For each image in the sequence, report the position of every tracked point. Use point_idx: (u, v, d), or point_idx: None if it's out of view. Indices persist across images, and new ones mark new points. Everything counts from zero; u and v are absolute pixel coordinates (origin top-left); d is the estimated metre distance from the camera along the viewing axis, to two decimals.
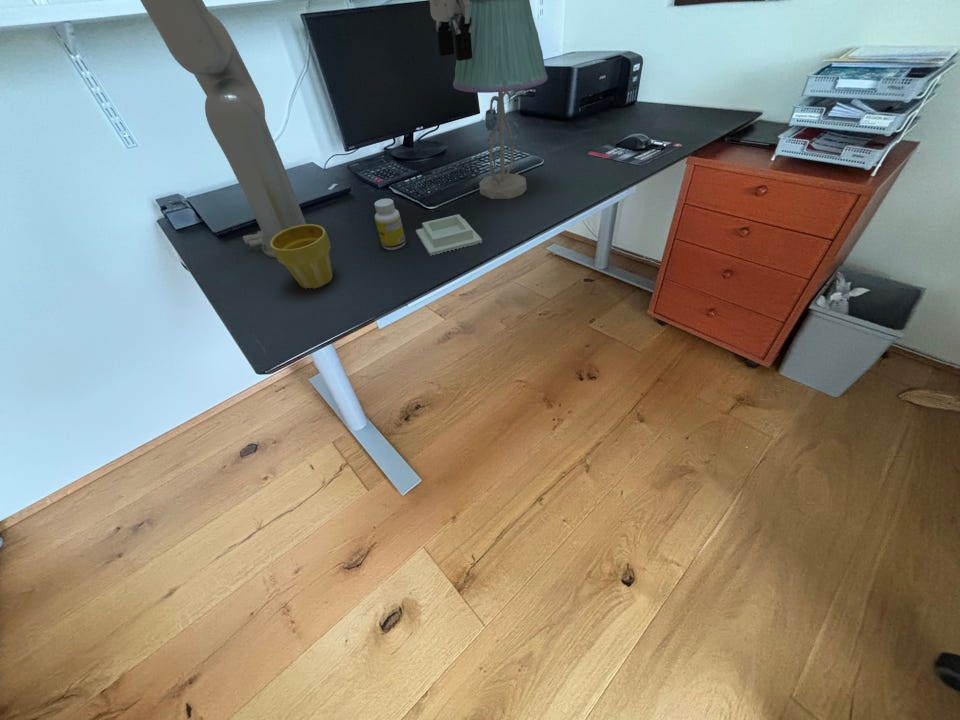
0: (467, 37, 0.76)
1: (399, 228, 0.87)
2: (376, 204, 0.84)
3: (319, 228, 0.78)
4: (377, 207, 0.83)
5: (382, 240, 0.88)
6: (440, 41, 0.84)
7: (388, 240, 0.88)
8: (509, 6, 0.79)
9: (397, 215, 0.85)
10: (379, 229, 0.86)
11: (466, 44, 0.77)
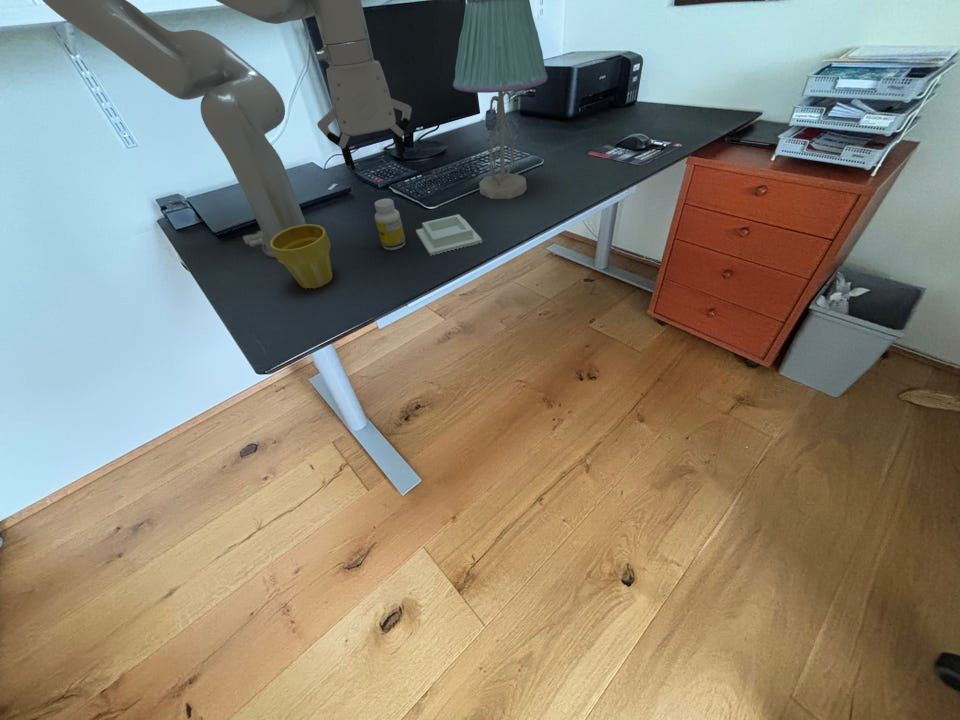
0: None
1: (399, 228, 0.87)
2: (376, 204, 0.84)
3: (319, 228, 0.78)
4: (377, 207, 0.83)
5: (382, 240, 0.88)
6: (351, 156, 0.75)
7: (388, 240, 0.88)
8: (509, 6, 0.79)
9: (397, 215, 0.85)
10: (379, 229, 0.86)
11: None
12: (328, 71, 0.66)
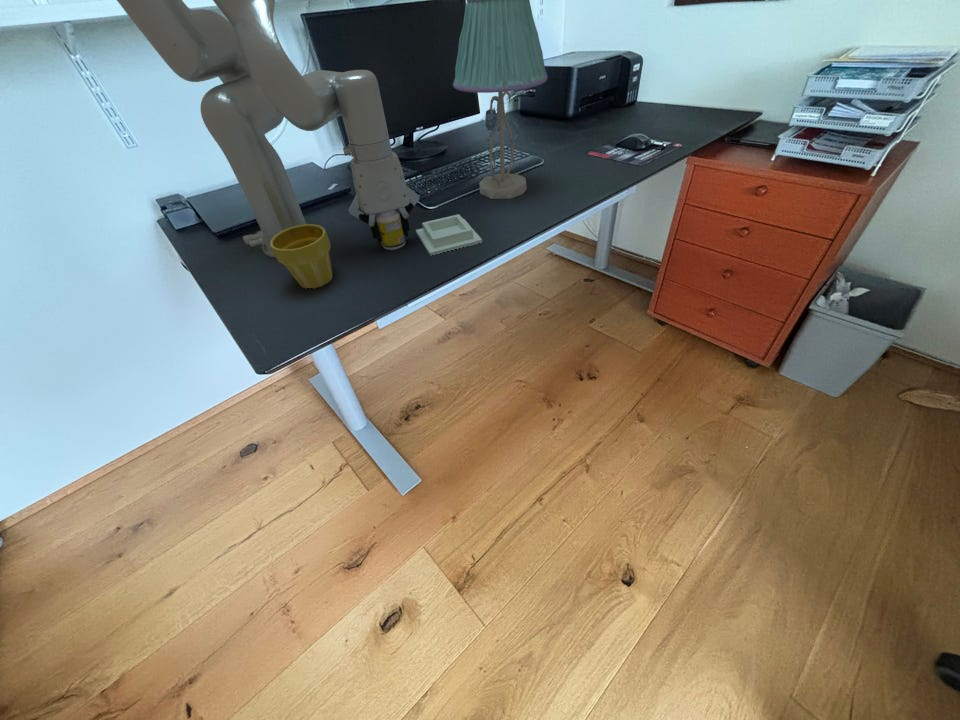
0: None
1: (399, 228, 0.87)
2: None
3: (319, 228, 0.78)
4: None
5: (382, 240, 0.88)
6: (378, 232, 0.87)
7: (388, 240, 0.88)
8: (509, 6, 0.79)
9: (397, 215, 0.85)
10: (379, 229, 0.86)
11: (407, 222, 0.89)
12: (353, 164, 0.76)
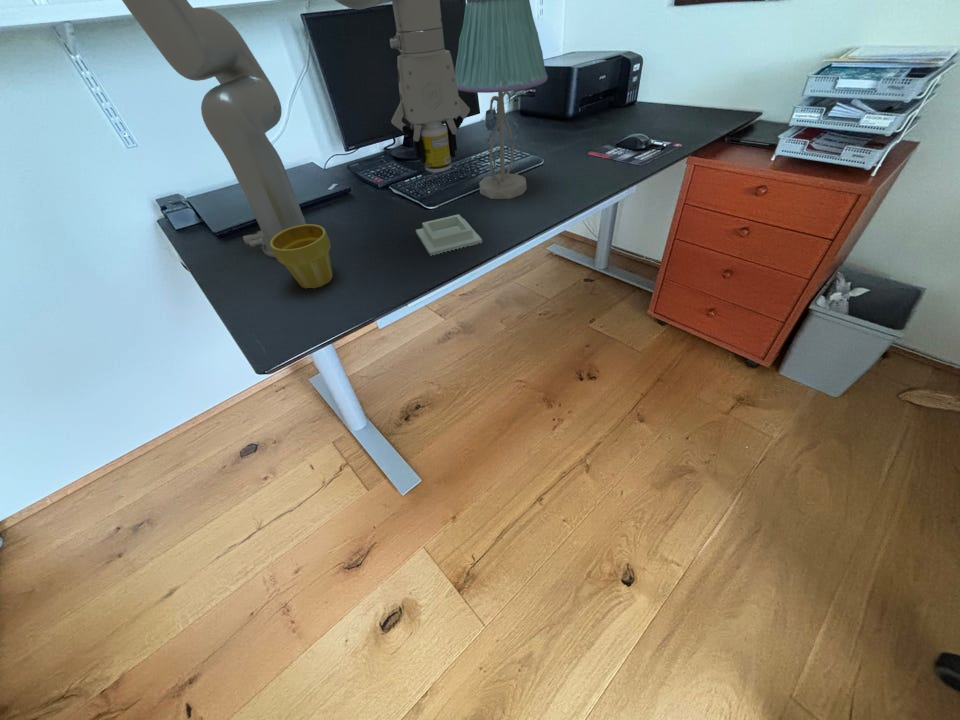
0: None
1: (447, 145, 0.77)
2: None
3: (319, 228, 0.78)
4: None
5: (426, 160, 0.78)
6: (423, 149, 0.77)
7: (433, 159, 0.78)
8: (509, 6, 0.79)
9: (445, 129, 0.75)
10: (424, 145, 0.76)
11: None
12: (401, 59, 0.66)
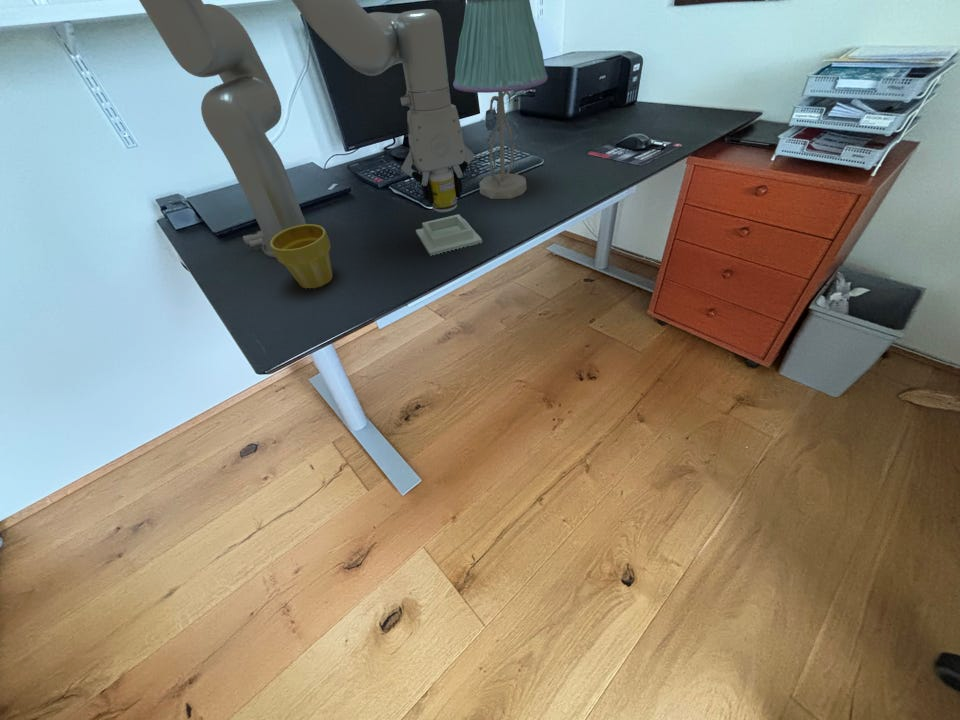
0: None
1: (453, 188, 0.83)
2: None
3: (319, 228, 0.78)
4: None
5: (434, 201, 0.84)
6: (431, 192, 0.82)
7: (441, 201, 0.83)
8: (509, 6, 0.79)
9: (451, 174, 0.81)
10: (432, 188, 0.82)
11: None
12: (410, 115, 0.72)
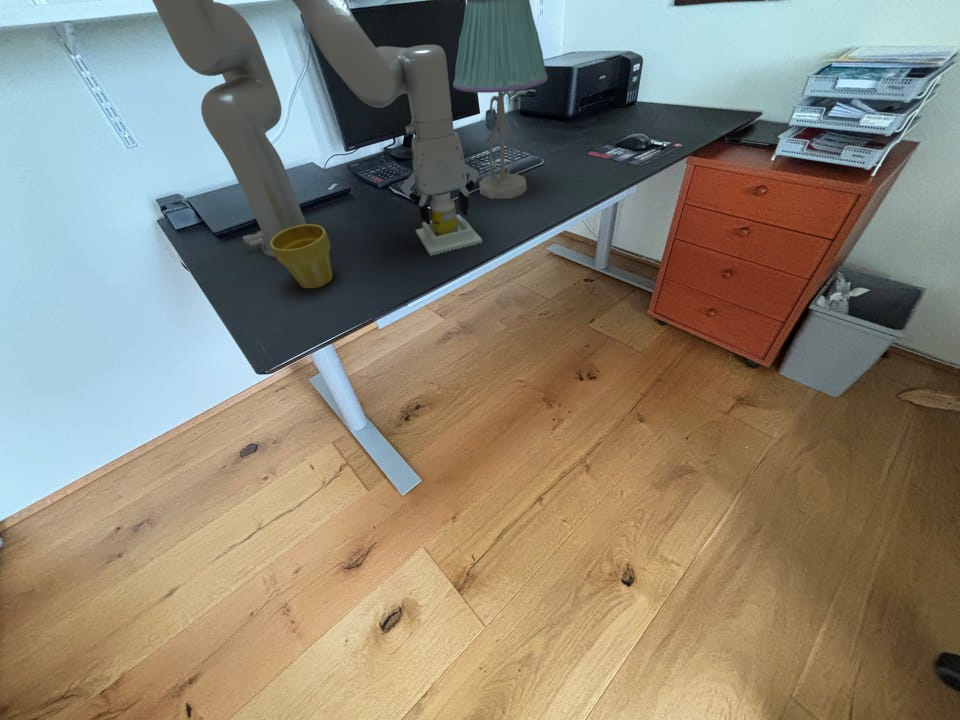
0: None
1: (454, 217, 0.87)
2: None
3: (319, 228, 0.78)
4: (434, 196, 0.83)
5: (436, 230, 0.88)
6: (428, 212, 0.85)
7: (442, 230, 0.87)
8: (509, 5, 0.79)
9: (452, 204, 0.85)
10: (434, 218, 0.86)
11: None
12: (415, 143, 0.75)
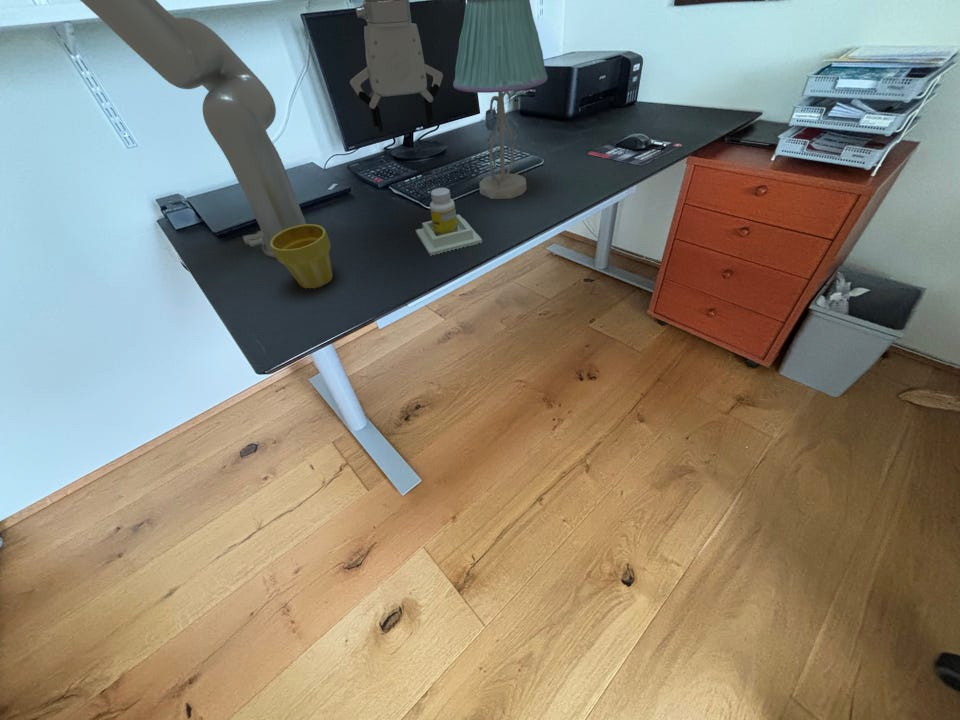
0: None
1: (454, 217, 0.87)
2: (433, 193, 0.84)
3: (319, 228, 0.78)
4: (434, 196, 0.83)
5: (436, 230, 0.88)
6: (380, 117, 0.77)
7: (442, 230, 0.88)
8: (509, 6, 0.79)
9: (452, 205, 0.85)
10: (434, 218, 0.86)
11: None
12: (366, 28, 0.67)
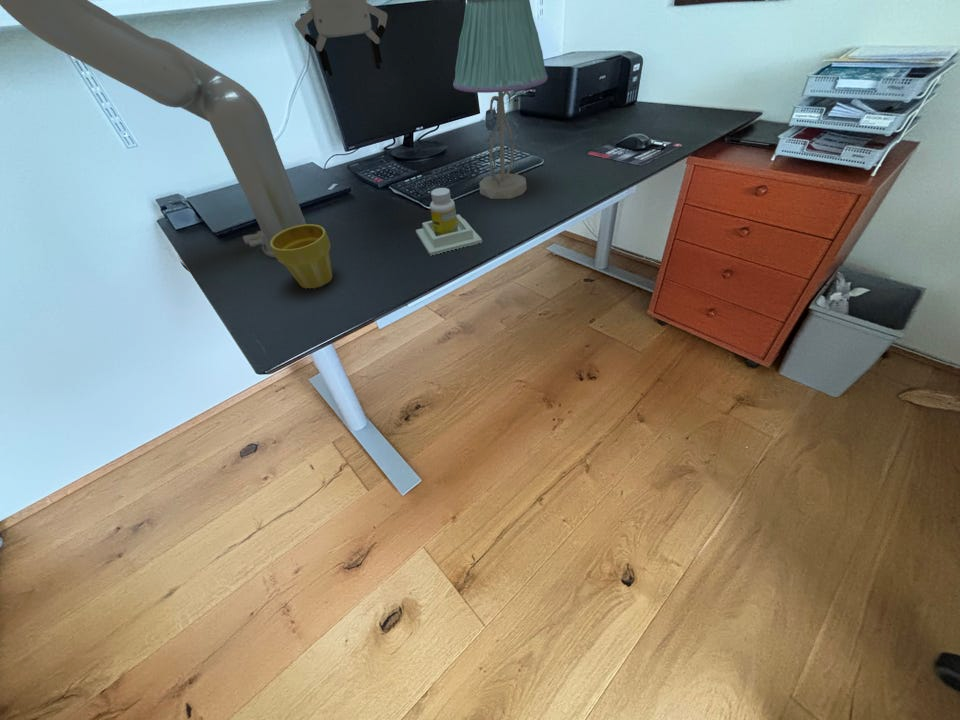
0: None
1: (454, 217, 0.87)
2: (433, 193, 0.84)
3: (319, 228, 0.78)
4: (434, 196, 0.83)
5: (436, 230, 0.88)
6: (328, 60, 0.78)
7: (443, 230, 0.88)
8: (509, 6, 0.79)
9: (452, 205, 0.85)
10: (434, 218, 0.86)
11: None
12: None
